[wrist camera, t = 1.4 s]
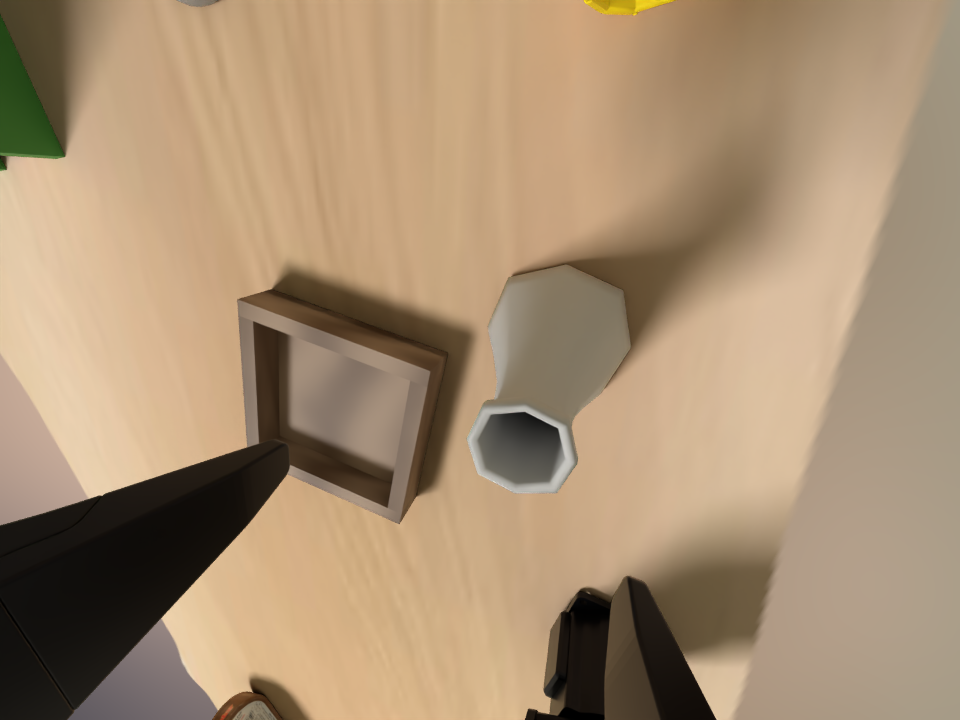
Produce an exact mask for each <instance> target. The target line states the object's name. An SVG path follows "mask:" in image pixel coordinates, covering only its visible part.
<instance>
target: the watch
mask: <svg viewBox="0 0 960 720" xmlns="http://www.w3.org/2000/svg"><path fill="white" fill-rule="evenodd" d="M673 1H676V0H584V2H585V3H586V4H587V5H589V6H591V7H592V8H594V9H595V10H597V11H598V12H600V13H604V14H615V15H631V14H633V15H636V14H638V13H637V12H639V11H643V10H646V9H649V8H653V7H656V6H659V5H663V4H666V3H669V2H673ZM633 15H632V16H633Z"/></svg>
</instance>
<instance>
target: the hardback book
mask: <svg viewBox="0 0 960 720" xmlns="http://www.w3.org/2000/svg"><path fill="white" fill-rule="evenodd" d="M0 155H2V156H18V157H35V158H52V159H58V158H62V157H65V155H64V153H63V151H62V149H61V146H60V144H59V142H58V140H57V138H56V135H55V133H54V131H53V129H52V127H51V124H50V122H49V120H48V118H47V116H46V113H45V111H44V109H43V107H42V105H41V102H40V100H39V98H38V96H37V94H36V91H35V89H34V87H33V85H32V83H31V80H30V78H29V76H28V74H27V72H26V69H25V67H24V65H23V63H22V61H21V59H20V56H19V54H18V52H17V50H16V48H15V45H14V43H13V41H12V39H11V37H10V34H9V32H8V30H7V28H6V26H5V23H4V21H3V19H2V17H1V15H0ZM3 170H7V169H6V167H5V165H4V163H3V161H2V160H1V158H0V171H3Z"/></svg>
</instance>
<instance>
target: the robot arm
mask: <svg viewBox="0 0 960 720" xmlns="http://www.w3.org/2000/svg"><path fill="white" fill-rule="evenodd" d="M289 469H290V455H289V446H288V444H287V443H284V442H282V441H279V440H276V439H271V440H268V441H265V442H262V443H259V444H256V445H253V446H250V447H246V448H243V449H240V450H237V451H234V452H231V453H228V454H225V455H222V456H219V457H216V458H213V459H210V460H207V461H204V462H201V463H198V464H194V465H191V466H188V467H185V468H182V469H179V470H176V471H173V472H170V473H167V474H164V475H161V476H158V477H155V478H152V479H149V480H145V481H142V482H139V483H136V484H133V485H130V486H127V487H124V488H121V489H118V490H115V491H112V492H109V493H106V494H104V495H103V496H96V497H93V498H90V499H87V500H84V501H81V502H78V503H75V504H71V505H68V506H65V507H62V508H59V509H56V510H52V511H49V512H46V513H43V514H39V515H36V516H32V517H28V518H25V519H22V520H18V521H14V522H11V523H7V524H4V525H0V720H67V719H68V718H69V717H70V716H71V715H72V714H73V713H74V710H75V709H77V708H78V707H79V706H80V705H81V704H82V703H83V702H84V701H85V700H86V699H87V697H88V696H89V695H90V694H91V693H92V692H93V691H94V690H95V689H96V688H97V686H99V684H100V683H101V682H102V681H103V680H104V679H105V678H106V677H107V676H108V675H109V674H110V673H111V671H113V669H114V668H115V667H116V666H117V665H118V664H119V663H120V662H121V661H122V660H123V659H124V658H125V656H126V655H127V654H128V653H129V652H130V651H131V650H132V649H133V648H134V647H135V646H136V645H137V644H138V643H139V642H140V640H141V639H142V638H143V637H144V636H145V635H146V634H147V633H148V632H149V631H150V630H151V629H152V627H153V626H154V625H155V624H156V623H157V622H158V621H159V620H160V619H161V618H162V617H163V616H164V615H165V614H166V612H167V611H168V610H169V609H170V608H171V607H172V606H173V605H174V604H175V603H176V602H177V601H178V600H179V598H180V597H181V596H182V595H183V594H184V593H185V592H186V591H187V590H188V589H189V588H190V587H191V586H192V584H193V583H194V582H195V581H196V580H197V579H198V578H199V577H200V576H201V575H202V574H203V573H204V572H205V570H206V569H207V568H208V567H209V566H210V565H211V564H212V563H213V562H214V561H215V560H216V559H217V558H218V557H219V555H220V554H221V553H222V552H223V551H224V550H225V549H226V548H227V547H228V546H229V545H230V544H231V543H232V541H233V540H234V539H235V538H236V537H237V536H238V535H239V534H240V533H241V532H242V531H243V530H244V528H245V527H246V526H247V525H248V524H249V523H250V522H251V520H252V519H253V518H254V517H255V515H256V514H257V513H258V511H259V510H260V509H261V508H262V506H263V505H264V504H265V502H266V501H267V500H268V499H269V497H270V496H271V495H272V493H273V492H274V491H275V489H276V488H277V487H278V486H279V484H280V483H281V482H282V480H283V479H284V478H285V477H286V475H287V473H288V472H289ZM543 690H544V693H545V695H546V696H548V697H550V698H551V704H550V714H546V713H540V712H538V711H537V710H534V709H528V711H527V715H526V718H525V720H716V718H715V716H714V714H713V712H712V710H711V708H710V706H709V704H708V702H707V701H706V699H705V697H704V695H703V693H702V691H701V689H700V687H699V685H698V683H697V681H696V679H695V677H694V675H693V673H692V671H691V670H690V668H689V666H688V664H687V662H686V660H685V658H684V656H683V654H682V652H681V650H680V648H679V646H678V644H677V642H676V640H675V639H674V637H673V635H672V633H671V631H670V629H669V627H668V625H667V623H666V621H665V619H664V617H663V615H662V613H661V611H660V609H659V608H658V606H657V604H656V602H655V600H654V598H653V596H652V594H651V592H650V590H649V588H648V586H647V585H646V583H645V582H643V581H642V580H639V579H636V578H634V577H631V576H626V577H624V579H623V580H622V582H621V584H620V586H619V587H618V589H617V591H616V592H615V594H614V596H613V599H612V603H611V604H610V603H608V602H605V601H603V600H601V599H599V598H596V597H594V596H592V595H589V594H587V593H584V592H578V593H577V594H576V595H575V597H574V599H573V600H572V602H571V603H570V605H569V607H568V608H567V610H566V611H563V612H561V613H560V615H559V617H558V618H557V620H556V622H555V623H554V625H553V627H552V628H551V631H550V638H549V647H548V655H547V663H546V672H545V680H544V688H543Z"/></svg>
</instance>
